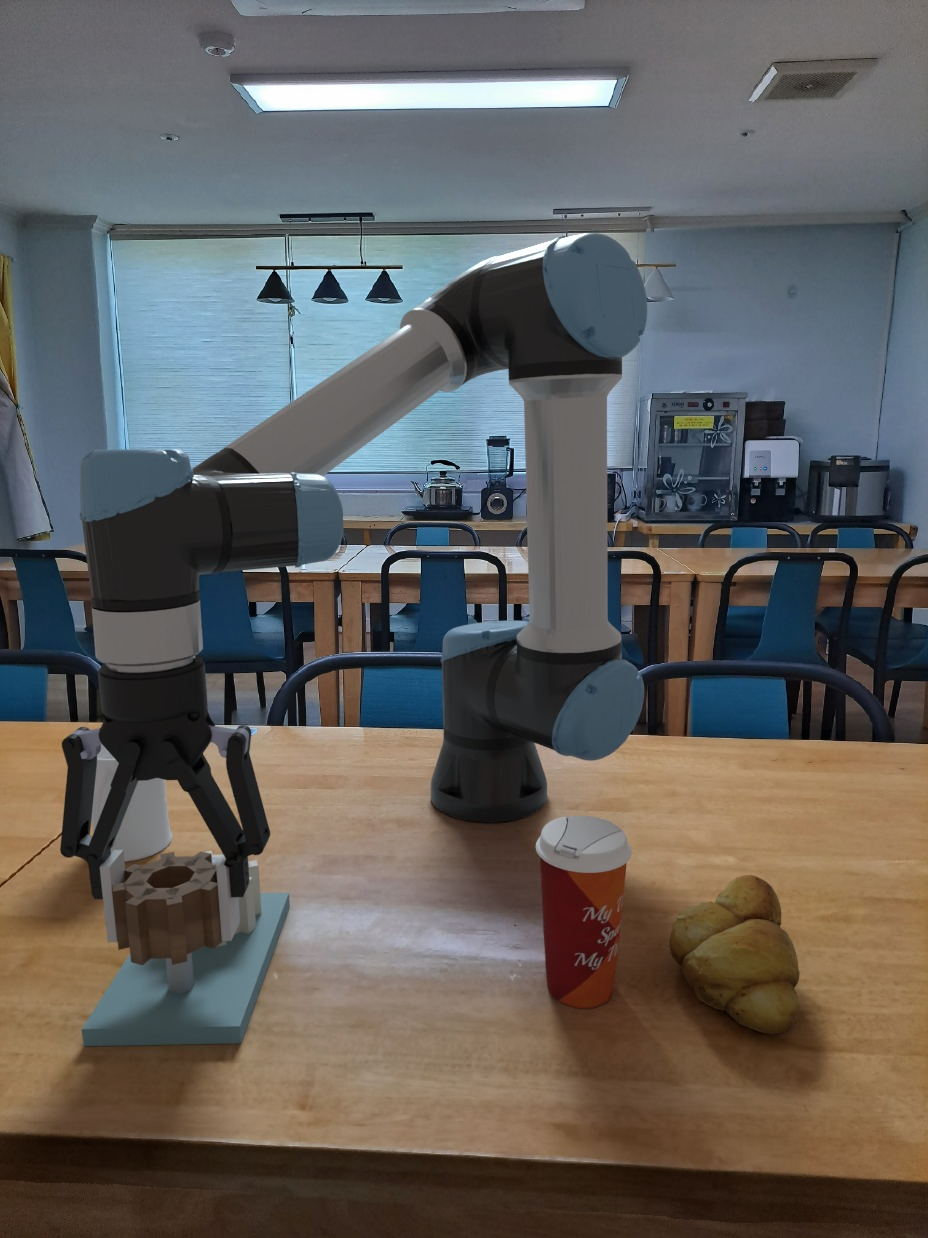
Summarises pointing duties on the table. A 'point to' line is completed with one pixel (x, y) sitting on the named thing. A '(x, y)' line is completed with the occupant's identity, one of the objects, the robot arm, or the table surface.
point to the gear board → (190, 990)
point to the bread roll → (740, 955)
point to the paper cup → (582, 906)
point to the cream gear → (248, 900)
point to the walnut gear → (168, 908)
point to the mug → (134, 812)
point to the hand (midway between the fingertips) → (175, 931)
